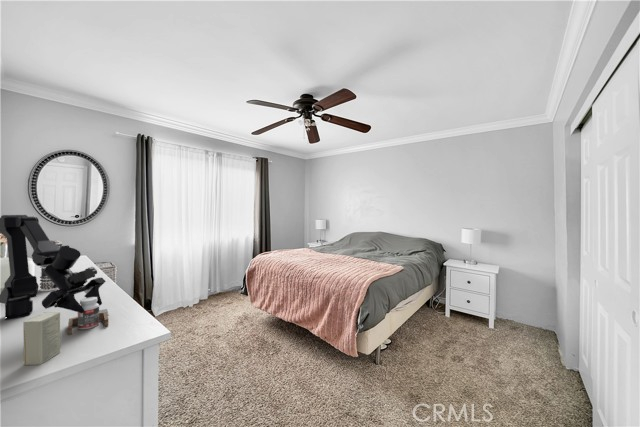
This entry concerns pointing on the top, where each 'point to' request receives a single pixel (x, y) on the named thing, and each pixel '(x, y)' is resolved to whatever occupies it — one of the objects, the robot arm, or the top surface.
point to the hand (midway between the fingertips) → (92, 308)
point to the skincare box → (41, 338)
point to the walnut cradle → (75, 321)
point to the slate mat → (104, 311)
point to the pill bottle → (88, 313)
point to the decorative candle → (45, 281)
